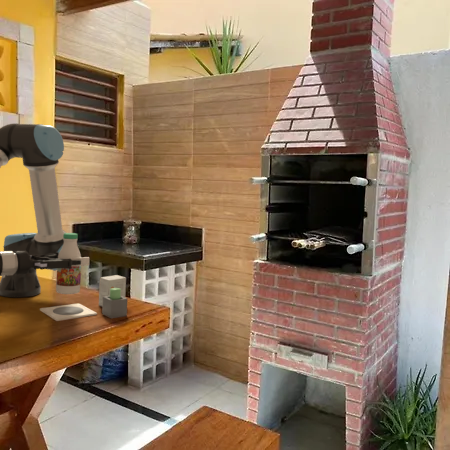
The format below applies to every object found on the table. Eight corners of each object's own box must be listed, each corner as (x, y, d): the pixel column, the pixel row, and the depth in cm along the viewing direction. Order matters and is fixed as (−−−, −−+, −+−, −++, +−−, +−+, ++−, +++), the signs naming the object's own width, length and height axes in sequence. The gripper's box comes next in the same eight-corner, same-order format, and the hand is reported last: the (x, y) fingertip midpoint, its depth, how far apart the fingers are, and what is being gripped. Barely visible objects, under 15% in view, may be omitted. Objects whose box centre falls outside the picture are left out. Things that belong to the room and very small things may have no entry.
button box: (102, 313, 158) (103, 296, 158) (117, 311, 162) (118, 294, 162) (110, 318, 154) (111, 300, 153) (126, 315, 158) (127, 298, 157)
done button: (107, 302, 158) (108, 288, 157) (117, 301, 160) (117, 287, 160) (112, 305, 155) (113, 290, 155) (122, 304, 158) (123, 289, 157)
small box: (115, 302, 174) (117, 274, 174) (125, 305, 171) (126, 277, 170) (98, 305, 168) (99, 277, 167) (107, 308, 165) (108, 280, 164)
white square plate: (39, 310, 158) (39, 308, 158) (78, 304, 167) (78, 303, 167) (56, 321, 148) (56, 318, 147) (96, 314, 157) (96, 312, 157)
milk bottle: (51, 291, 156) (54, 232, 155) (73, 288, 162) (76, 232, 160) (62, 295, 151) (65, 235, 149) (84, 293, 156) (86, 234, 154)
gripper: (2, 269, 151) (70, 265, 166) (25, 281, 136) (96, 275, 151) (3, 246, 150) (70, 244, 166) (25, 256, 135) (97, 252, 151)
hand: (83, 259), depth 159 cm, fingers closed on milk bottle, 8 cm apart
